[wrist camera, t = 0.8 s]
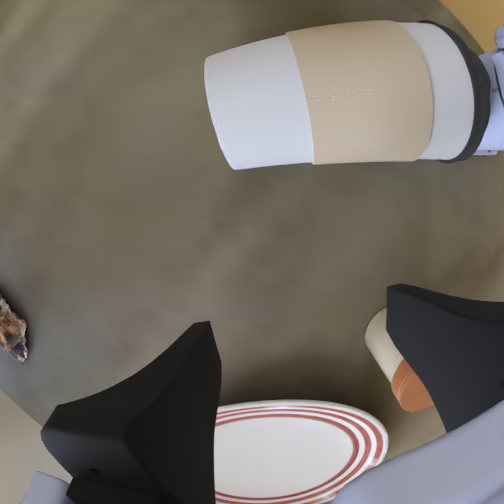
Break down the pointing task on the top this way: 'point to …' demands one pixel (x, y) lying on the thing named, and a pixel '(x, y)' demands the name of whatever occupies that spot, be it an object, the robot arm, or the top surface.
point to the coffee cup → (349, 96)
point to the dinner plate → (292, 450)
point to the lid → (410, 389)
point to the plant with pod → (12, 333)
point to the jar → (382, 345)
